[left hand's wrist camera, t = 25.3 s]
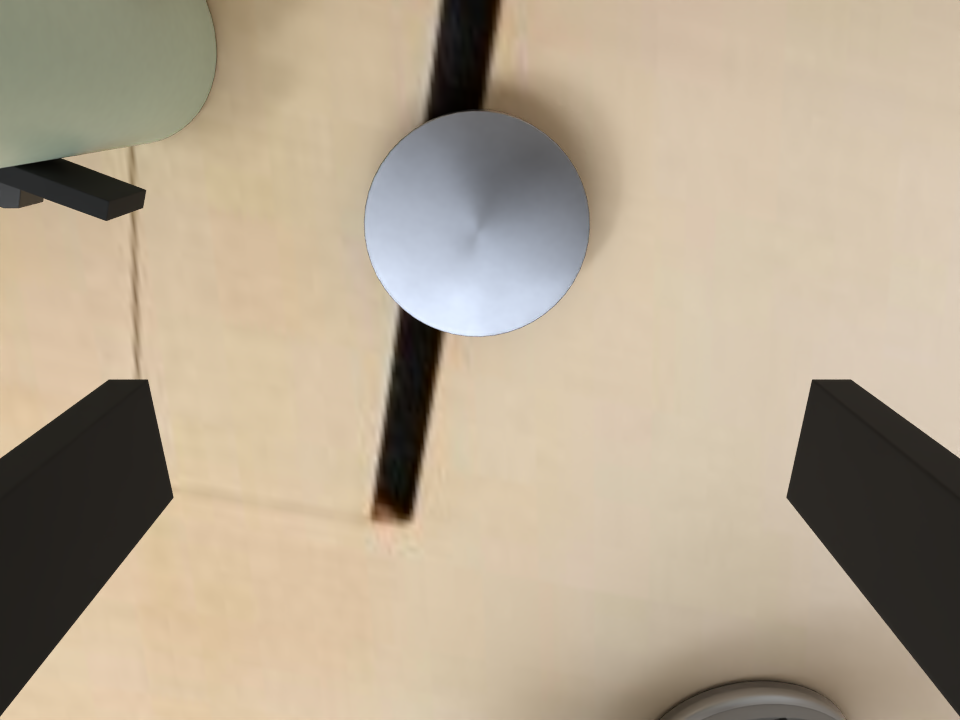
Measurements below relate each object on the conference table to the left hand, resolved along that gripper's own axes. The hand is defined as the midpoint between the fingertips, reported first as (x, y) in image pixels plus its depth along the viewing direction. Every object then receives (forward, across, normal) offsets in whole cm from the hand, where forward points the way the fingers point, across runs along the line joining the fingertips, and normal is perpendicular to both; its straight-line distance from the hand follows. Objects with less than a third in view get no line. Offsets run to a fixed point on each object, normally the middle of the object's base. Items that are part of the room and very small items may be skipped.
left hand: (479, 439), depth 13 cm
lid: (+17, 0, -1) cm, 17 cm away
